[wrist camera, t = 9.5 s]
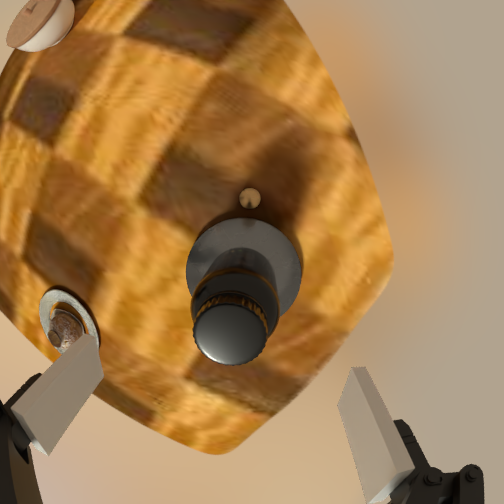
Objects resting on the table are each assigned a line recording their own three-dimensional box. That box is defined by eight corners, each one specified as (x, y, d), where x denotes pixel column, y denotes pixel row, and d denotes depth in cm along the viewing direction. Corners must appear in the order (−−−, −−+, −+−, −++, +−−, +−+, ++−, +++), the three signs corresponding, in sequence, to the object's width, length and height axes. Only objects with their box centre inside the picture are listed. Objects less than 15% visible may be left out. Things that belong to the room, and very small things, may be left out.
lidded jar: (80, 41, 23) (42, 16, 14) (30, 70, 23) (-8, 57, 14) (90, -6, 20) (61, -32, 11) (41, 23, 21) (10, 6, 12)
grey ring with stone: (98, 372, 34) (85, 389, 30) (42, 334, 34) (27, 347, 29) (107, 312, 32) (90, 327, 27) (45, 273, 31) (25, 283, 26)
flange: (187, 339, 31) (184, 345, 30) (193, 183, 27) (189, 183, 26) (287, 349, 31) (288, 356, 30) (310, 194, 27) (313, 195, 26)
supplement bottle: (280, 301, 29) (291, 371, 17) (218, 312, 29) (194, 383, 18) (268, 238, 27) (272, 277, 16) (202, 252, 28) (162, 296, 16)
